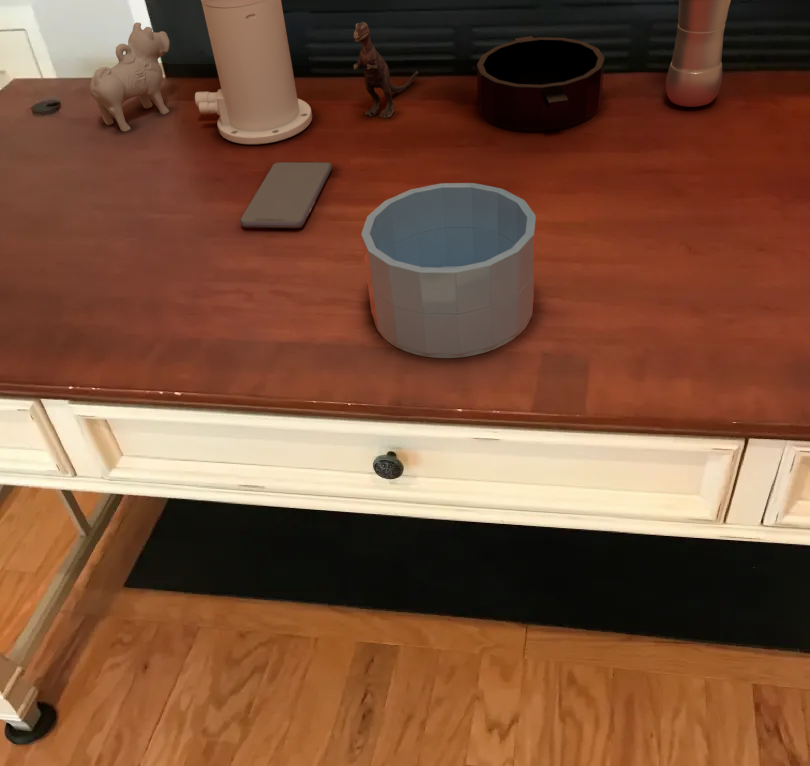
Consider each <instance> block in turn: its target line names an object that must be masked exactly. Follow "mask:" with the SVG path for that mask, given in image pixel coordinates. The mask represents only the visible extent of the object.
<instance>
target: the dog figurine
mask: <svg viewBox="0 0 810 766" xmlns="http://www.w3.org/2000/svg"><path fill="white" fill-rule="evenodd" d="M127 41H128V42H127V44H126V43H119V44H118V45H117V46H116V47H115V54H116V55H115V56H116V58H117V60H118V63H117V64H115V65H114V66H112V67H108V66H103V67H100V68H98V69H96V70H95V71H94V74H93V76H92V78H91V80H90V84H89V91H90V92H89V93H90V95H91V96H92V98H93V99H94V100H95V102H96V106H97V108H98V110H99V112H100V115H101V118H102V120H103V122H104V123H105V125H106V126H110V125H113V124H114V120H113V118H114V119H115V120H116V122H117V124H118V127H119V129H120V131H121V132H128V131H130V130H131V127H130V125H129V124H128V123H127V122H126V119H125V115H124V110H123V109H124V108H123V104H124V103H125V102H126V101H127V100H129V99H132V98H134V97H138V99H139V101H140V102H141V104H142V107H143V108H144V109H150V108H152V107H153V104H154V105H155V106H156V108H157V109H158V111H159V113H160V114H161V115H166V114H168V113H169V112H170V110H169V109H168V107H167V106H166V105H165V103H164V100H163V99H164V98H163V96H162V93H161V88H162V87H161V86H162V81H163V79H164V73H163V69H162V67H161V65H160V62H159V59H160V58H161V57H162V56H164V55H165V54H166V53H168V52H169V49H170V38H169V37H168V33H167V32H165V31H159V32H155V31H153V28H152V27H150V26H145V27H144V28H142V23H141V22H137V21H136V22H135V23H134V24H133V26H132V31H131V33H130V34H129V36H128V39H127ZM124 52H125V54H124ZM149 97H150V98H149ZM150 99H151V100H152V101H151V100H150ZM110 114H111V115H110ZM111 116H113V118H112V117H111Z"/></svg>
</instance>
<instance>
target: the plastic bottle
mask: <svg viewBox="0 0 810 766" xmlns="http://www.w3.org/2000/svg"><path fill="white" fill-rule="evenodd" d="M731 1H732V0H678V15H677V17H678V18H677V22H678V23H677V30H676V38H675V43H674V48H673V53H672V57H671V62H670V64H669V67H668V70H667V75H666V79H665V91H666V92H665V93H666V95H667V97H668V99H669V101H670V102H671V103H672V104H674V105H677V106H680V107H687V108H688V107H689V108H692V107H693V108H694V107H701V106H702V107H703V106H705V105H708V104H711V103H712V102H713V101H714V100H715V98H716V97H717V96H718V95H719V92H720V88H721V86H722V82H723V62H722V59H723V47H724V45H723V44H724V33H725V28H726V22H727V18H728V15H729V14H728V13H729V9H730V5H731Z"/></svg>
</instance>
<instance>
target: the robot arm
mask: <svg viewBox="0 0 810 766" xmlns="http://www.w3.org/2000/svg"><path fill="white" fill-rule="evenodd" d="M200 2H201V7H202V10H203V15H204V18H205V24H206V28H207V32H208V37H209V40H210V45H211V49H212V54H213V58H214V62H215V67H216V68H215V69H216V71H217V75H218V81H219V84H220V88H219V89H217V91H214V92H212V91H211V92H210V91H196V92H195V94H194V102H195V105H196V107H197V108H198V111H199V113H200V114H201V115H202V114H205V115H207V114H216V115H218V116H219V117H218V119H217V121H216V122H217V129H218V133H219V134H220V136H222V138H223V139H226V140H227V141H228V142H232V143H235V144H240V145H266V144H272V143H277V142H280V141H285V140H287V139H289V138H292V137H294V136H296V135H298V134H300V133H302V132H303V131H304V130H306V129H307V128H308V127H309V126H310V124H311V122H312V121H313V113H312V108H311V106H310V104H308V102H306V101H305V100H303V99H300V98H298V93H297V88H296V82H295V75H294V69H293V63H292V57H291V52H290V46H289V41H288V34H287V28H286V22H285V16H284V11H283V4H282V0H200Z"/></svg>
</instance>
